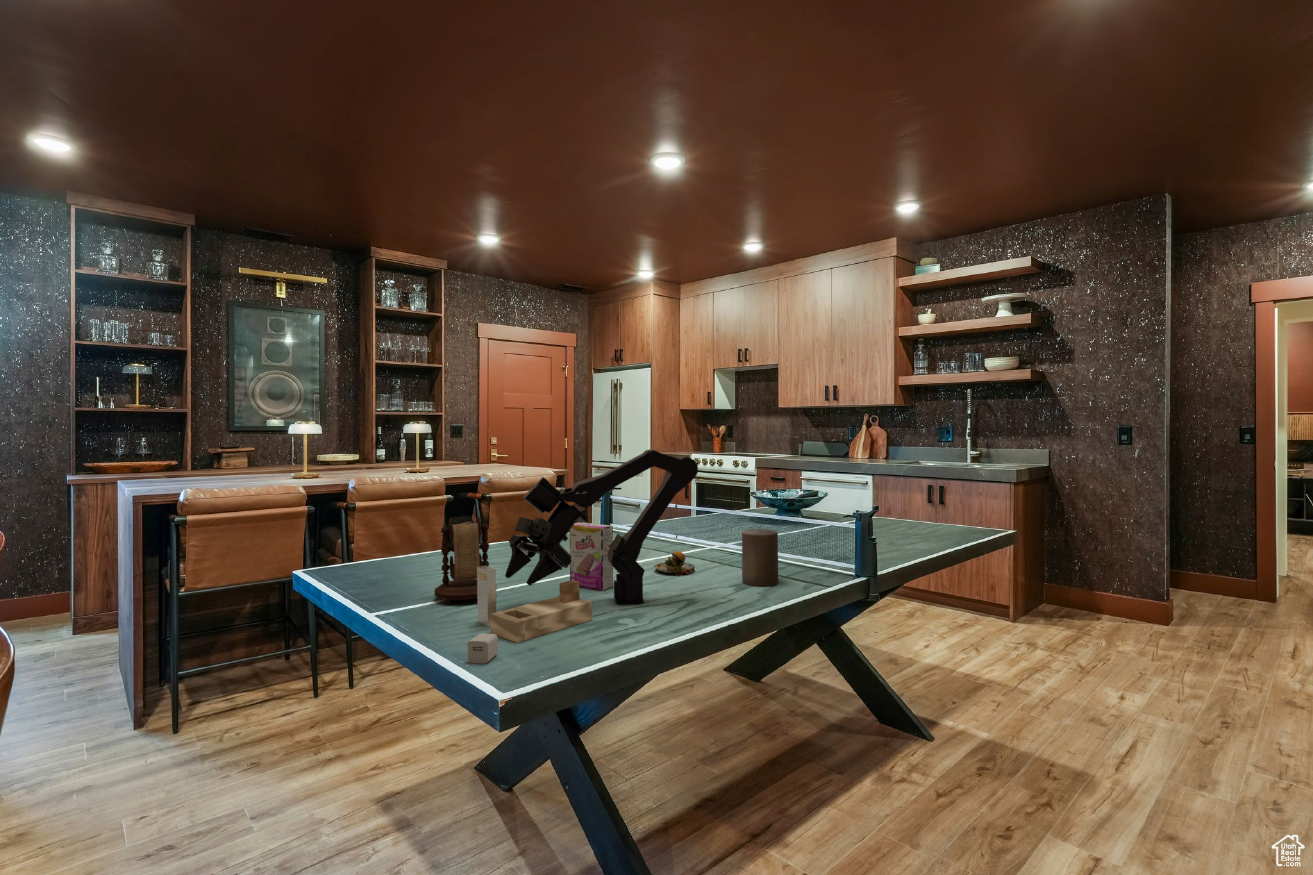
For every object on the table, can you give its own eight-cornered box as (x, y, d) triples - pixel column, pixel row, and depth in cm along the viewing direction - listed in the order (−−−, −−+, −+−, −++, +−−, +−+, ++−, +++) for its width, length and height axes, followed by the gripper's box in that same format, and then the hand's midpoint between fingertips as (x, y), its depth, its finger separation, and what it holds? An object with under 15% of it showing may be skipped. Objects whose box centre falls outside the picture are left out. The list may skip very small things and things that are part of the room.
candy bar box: (568, 586, 178) (568, 524, 177) (580, 582, 182) (580, 521, 181) (602, 591, 172) (602, 527, 171) (614, 587, 176) (613, 524, 175)
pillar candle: (781, 586, 176) (781, 529, 175) (743, 586, 176) (743, 529, 175) (775, 577, 185) (775, 523, 185) (739, 578, 185) (739, 523, 185)
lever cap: (486, 619, 148) (486, 565, 148) (497, 624, 145) (496, 568, 144) (477, 621, 146) (476, 567, 146) (487, 626, 143) (486, 570, 143)
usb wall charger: (467, 662, 122) (467, 640, 122) (483, 649, 129) (482, 628, 129) (488, 663, 122) (488, 641, 121) (503, 650, 128) (502, 629, 128)
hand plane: (565, 612, 153) (564, 577, 153) (592, 619, 147) (591, 583, 147) (490, 633, 139) (490, 594, 138) (517, 642, 133) (516, 602, 132)
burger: (654, 567, 200) (654, 542, 200) (694, 567, 200) (694, 542, 200) (652, 577, 188) (652, 550, 188) (695, 577, 188) (694, 550, 188)
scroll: (438, 608, 157) (436, 523, 156) (431, 594, 170) (430, 515, 170) (501, 601, 163) (500, 519, 162) (490, 587, 176) (489, 511, 176)
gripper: (515, 500, 160) (473, 552, 153) (559, 507, 146) (515, 565, 139) (543, 529, 166) (504, 581, 159) (589, 539, 152) (548, 596, 145)
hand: (516, 580), depth 150 cm, fingers open, 9 cm apart
